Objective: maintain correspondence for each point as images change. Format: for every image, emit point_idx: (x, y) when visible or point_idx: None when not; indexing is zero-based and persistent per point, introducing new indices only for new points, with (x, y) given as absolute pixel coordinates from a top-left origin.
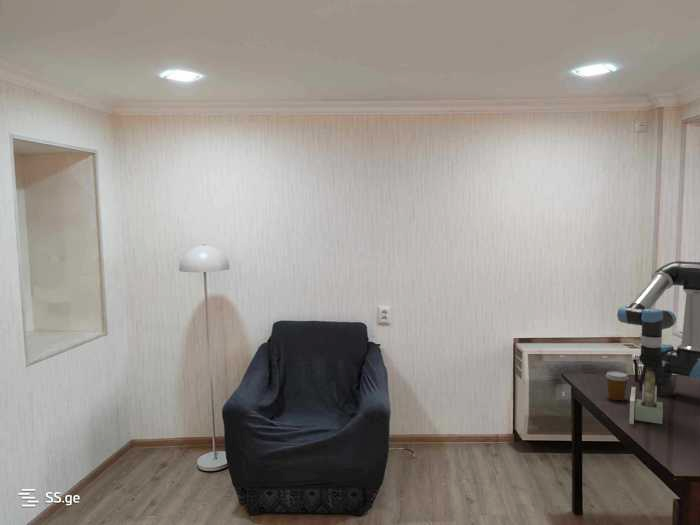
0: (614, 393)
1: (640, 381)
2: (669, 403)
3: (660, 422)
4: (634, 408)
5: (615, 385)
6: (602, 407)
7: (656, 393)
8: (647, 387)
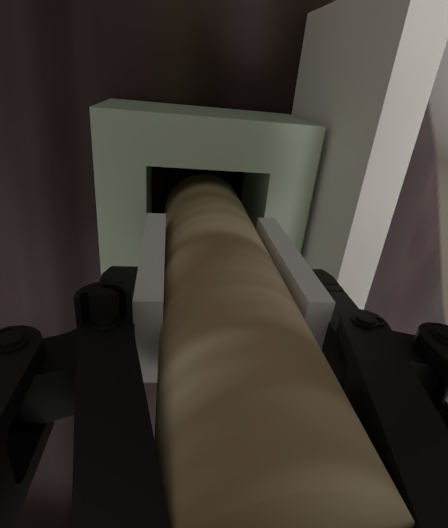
0: None
1: (385, 334)
2: None
3: (122, 99)
4: None
5: None
6: (427, 272)
7: (143, 250)
8: (263, 269)
